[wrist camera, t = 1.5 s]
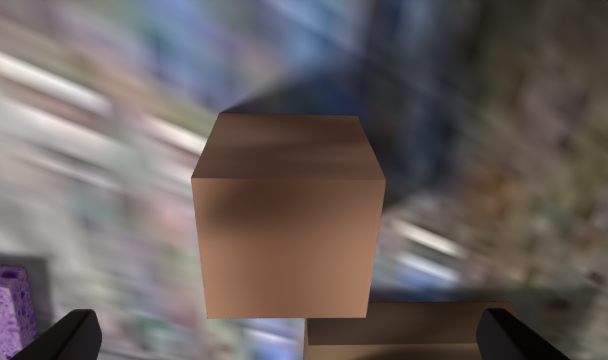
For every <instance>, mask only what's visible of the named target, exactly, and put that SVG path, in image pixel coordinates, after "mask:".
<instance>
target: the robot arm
mask: <svg viewBox="0 0 608 360" xmlns="http://www.w3.org/2000/svg"><path fill="white" fill-rule="evenodd" d="M476 341H477V345H478V348H479V351H480V355H481V358H482V360H570V359H569V358H568V357H567V356H565V355H564V354H563V353H561V352H560V351H559V350H558V349H556V348H555V347H554V346H552V345H551V344H550V343H548V342H547V341H546V340H545V339H543V338H542V337H541V336H539V335H538V334H537V333H536V332H534V331H533V330H532V329H530V328H529V327H528V326H527V325H525V324H524V323H523V322H521V321H520V320H519V319H517V318H516V317H515V316H514V315H512V314H511V313H510V312H508V311H507V310H506V309H504V308H500V307H488V308H485V309H484V310H483V313H482V315H481V318H480V321H479V324H478V327H477V330H476ZM101 343H102V332H101V329H100V326H99V323H98V319H97V316H96V313H95V311H94V310H92V309H75V310H73V311H71V312H69V313H68V314H67V315H66V316H64V317H63V318H62V319H60V320H59V321H58V322H57V323H55V324H54V325H53V326H51V327H50V328H49V329H48V330H46V331H45V332H44V333H42V334H41V335H40V336H38V337H37V338H36V339H35V340H33V341H32V342H31V343H29V344H28V345H27V346H26V347H24V348H23V349H22V350H20V351H19V352H18V353H17V354H15V355H14V356H13V357H11V358H10V359H9V360H97V357H98V353H99V350H100V347H101Z"/></svg>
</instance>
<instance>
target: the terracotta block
mask: <svg viewBox="0 0 608 360" xmlns="http://www.w3.org/2000/svg"><path fill="white" fill-rule="evenodd" d="M191 183H192V192H193V200H194V209H195V217H196V226H197V234H198V243H199V251H200V260H201V268H202V277H203V285H204V294H205V303H206V311H207V319H214V318H366V313H367V306H368V300H369V293H370V286H371V280H372V273H373V266H374V260H375V253H376V246H377V240H378V233H379V226H380V220H381V213H382V206H383V200H384V193H385V186H386V178H385V176H384V174H383V172H382V169H381V167H380V165H379V163H378V160H377V158H376V156H375V154H374V152H373V149H372V147H371V145H370V143H369V141H368V138H367V136H366V134H365V132H364V129H363V127H362V125H361V123H360V121H359V118H358V116H357V115H303V114H248V113H219V115H218V118H217V120H216V122H215V124H214V127H213V129H212V131H211V134H210V136H209V138H208V140H207V143H206V145H205V147H204V150H203V152H202V154H201V156H200V159H199V161H198V163H197V165H196V168H195V170H194V172H193V175H192V177H191Z"/></svg>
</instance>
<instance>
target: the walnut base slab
mask: <svg viewBox="0 0 608 360" xmlns="http://www.w3.org/2000/svg"><path fill="white" fill-rule="evenodd" d="M488 307H500V308H504V309H506V310H507V311H508V312H510V313H511V314H512V315H514V316H515V317H516V318H517V319H519V320H520V321H521V322H523V321H522V320H521V318H520V317H519V315H518V314H517V312H516V311H515V309H514V308H513V306H512V305H511V303H510V302H372V303H368V306H367V313H366V318H305V332H304V353H303V360H482V358H481V355H480V351H479V348H478V345H477V341H476V330H477V327H478V324H479V321H480V318H481V315H482V313H483V310H484V309H485V308H488Z"/></svg>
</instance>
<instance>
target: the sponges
mask: <svg viewBox="0 0 608 360" xmlns="http://www.w3.org/2000/svg"><path fill="white" fill-rule="evenodd" d="M37 337H38V336H37V330H36V324H35V318H34V310H33V305H32V301H31V295H30V285H29V283H28V281H27V272H26V270H25V269H24V268H23V267H9V266H4V265H0V360H9V359H10V358H11V357H13V356H14V355H15V354H17V353H18V352H19V351H20V350H22V349H23V348H24V347H26V346H27V345H28V344H29V343H31V342H32V341H33V340H35V339H36V338H37Z"/></svg>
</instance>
